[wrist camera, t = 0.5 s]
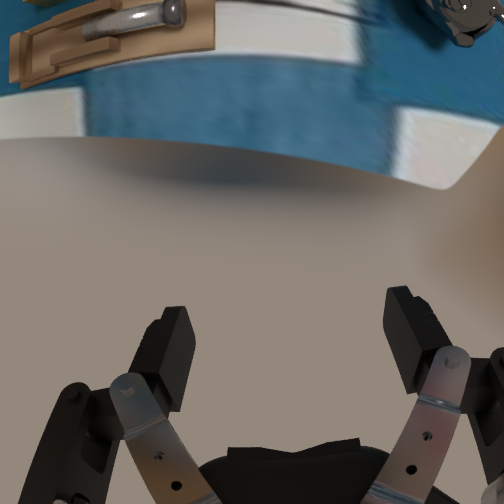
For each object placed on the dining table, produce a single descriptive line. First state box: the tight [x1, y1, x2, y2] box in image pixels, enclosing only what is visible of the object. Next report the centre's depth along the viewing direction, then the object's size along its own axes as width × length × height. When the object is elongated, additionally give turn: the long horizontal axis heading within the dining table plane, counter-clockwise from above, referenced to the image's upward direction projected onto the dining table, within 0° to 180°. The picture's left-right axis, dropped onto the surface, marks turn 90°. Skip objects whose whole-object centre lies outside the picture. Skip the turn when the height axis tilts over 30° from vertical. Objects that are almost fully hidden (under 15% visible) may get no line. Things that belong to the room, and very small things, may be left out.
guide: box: [9, 0, 215, 89], centre depth 27 cm, size 9×28×5 cm, turn 90°
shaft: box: [82, 0, 187, 42], centre depth 25 cm, size 4×12×4 cm, turn 90°
